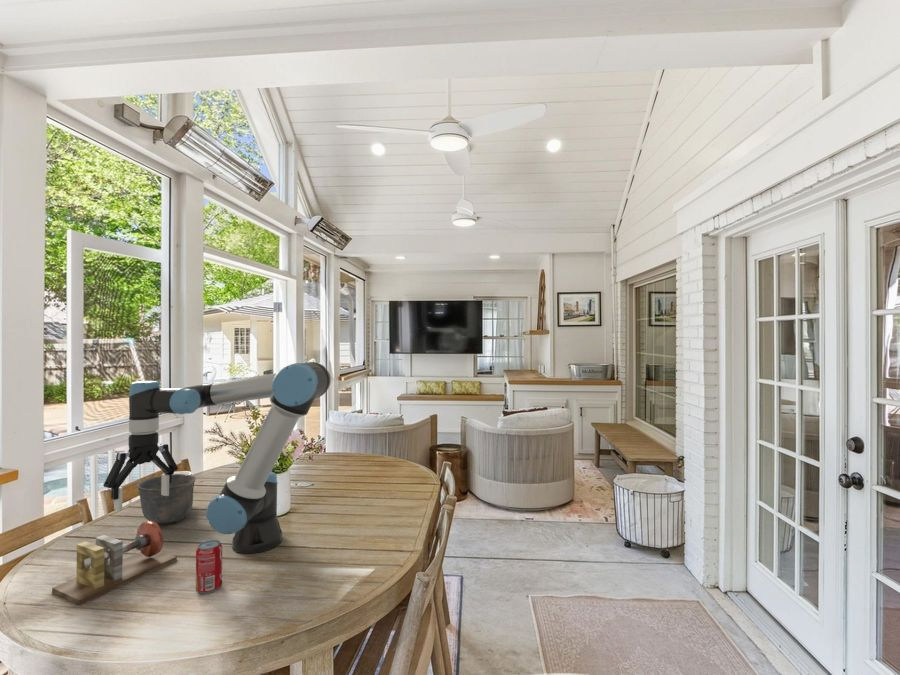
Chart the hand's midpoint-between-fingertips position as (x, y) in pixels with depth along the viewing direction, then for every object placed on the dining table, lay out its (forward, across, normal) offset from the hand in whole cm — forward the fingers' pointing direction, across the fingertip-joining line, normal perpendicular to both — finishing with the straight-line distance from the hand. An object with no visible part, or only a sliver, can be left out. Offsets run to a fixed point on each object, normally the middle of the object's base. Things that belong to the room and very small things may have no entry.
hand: (142, 502), depth 136 cm
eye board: (+17, +8, +4) cm, 20 cm away
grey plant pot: (+18, -21, -21) cm, 35 cm away
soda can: (+17, +2, +33) cm, 37 cm away
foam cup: (+18, -32, -31) cm, 48 cm away
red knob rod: (+15, +8, +4) cm, 17 cm away
